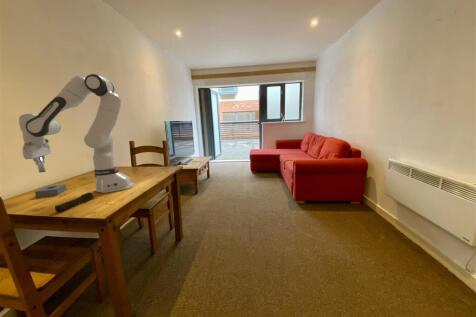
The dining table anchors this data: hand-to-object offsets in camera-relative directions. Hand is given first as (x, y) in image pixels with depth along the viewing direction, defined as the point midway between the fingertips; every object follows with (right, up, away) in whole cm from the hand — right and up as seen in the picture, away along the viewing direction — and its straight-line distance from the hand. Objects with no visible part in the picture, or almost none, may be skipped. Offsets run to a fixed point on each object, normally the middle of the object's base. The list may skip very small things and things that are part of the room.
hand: (40, 163), depth 126 cm
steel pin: (0, -5, +1) cm, 5 cm away
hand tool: (+33, -23, -14) cm, 43 cm away
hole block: (+2, -19, +6) cm, 20 cm away
